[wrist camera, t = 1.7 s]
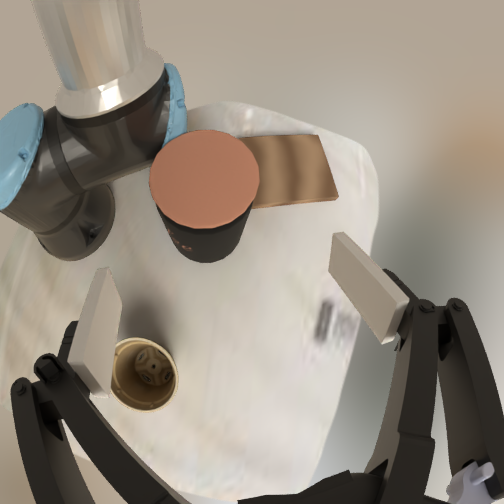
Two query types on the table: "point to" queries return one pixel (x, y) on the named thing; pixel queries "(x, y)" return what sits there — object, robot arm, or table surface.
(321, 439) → the table surface
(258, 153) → the walnut board
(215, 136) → the coffee jar
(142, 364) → the flower pot
